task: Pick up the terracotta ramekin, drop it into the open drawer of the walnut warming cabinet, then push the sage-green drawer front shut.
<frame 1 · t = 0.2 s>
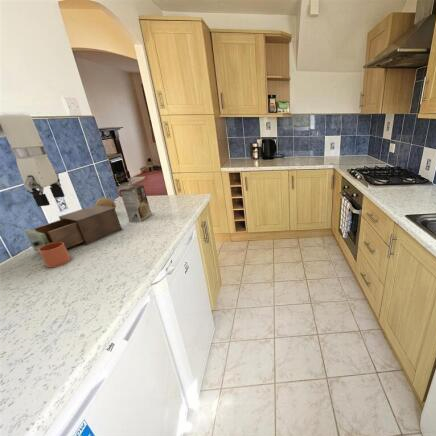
hand: (52, 201, 87), 20 cm above the countertop, tool pointing down, fingers open, 9 cm apart
ramekin: (58, 262, 86), on the countertop
coffee box: (140, 218, 123), on the countertop
cabinet: (96, 234, 106), on the countertop
drawer: (57, 235, 94), point 5 cm above the countertop, slide at 10.0 cm
natural sponge: (108, 216, 126), on the countertop
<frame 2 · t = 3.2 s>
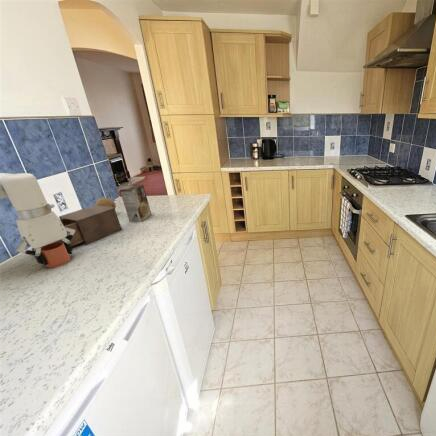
hand: (56, 258, 86), 2 cm above the countertop, tool pointing down, fingers closed on ramekin, 6 cm apart
ramekin: (58, 262, 86), on the countertop, touching gripper
everything else where it was.
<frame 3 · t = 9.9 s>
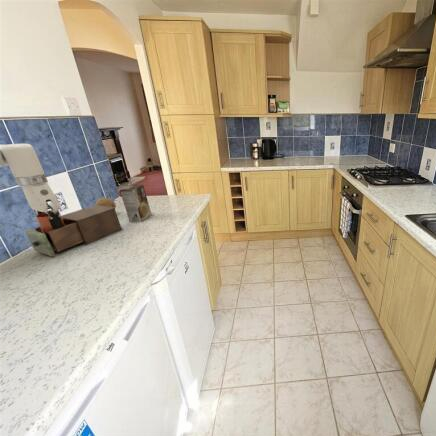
hand: (52, 225, 92), 10 cm above the countertop, tool pointing down, fingers closed on ramekin, 6 cm apart
ramekin: (54, 229, 93), point 8 cm above the countertop, touching gripper
everything else where it was.
when the fingers open (11 cm above the countertop, at t = 21.6 s): ramekin drops 7 cm, resting on drawer.
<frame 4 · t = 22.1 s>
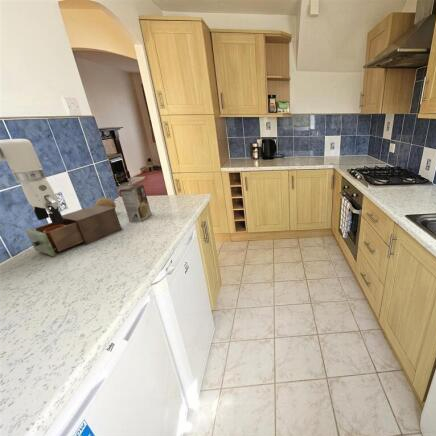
hand: (51, 220, 91), 12 cm above the countertop, tool pointing down, fingers open, 9 cm apart
ramekin: (61, 243, 95), point 2 cm above the countertop, touching drawer
drawer: (58, 235, 94), point 5 cm above the countertop, slide at 9.8 cm, touching ramekin
everything else where it was.
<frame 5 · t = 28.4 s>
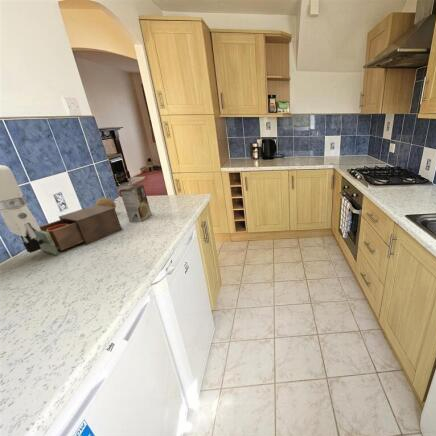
hand: (34, 250, 88), 3 cm above the countertop, tool pointing down, fingers closed
drawer: (61, 234, 95), point 5 cm above the countertop, slide at 8.8 cm, touching gripper, ramekin
everything else where it was.
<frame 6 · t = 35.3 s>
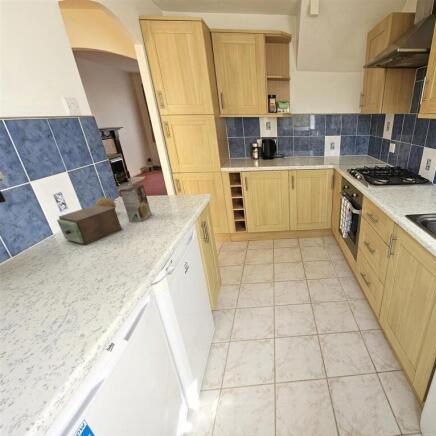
ramekin: (88, 232, 104), point 2 cm above the countertop, touching drawer
drawer: (86, 225, 102), point 5 cm above the countertop, slide at 0.0 cm, touching ramekin
everything else where it was.
at the end: ramekin inside the target area in the cabinet (2.4 cm from its centre), point 2.0 cm above the cabinet's base; ramekin tilted 0°; drawer slide at 0.0 cm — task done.
